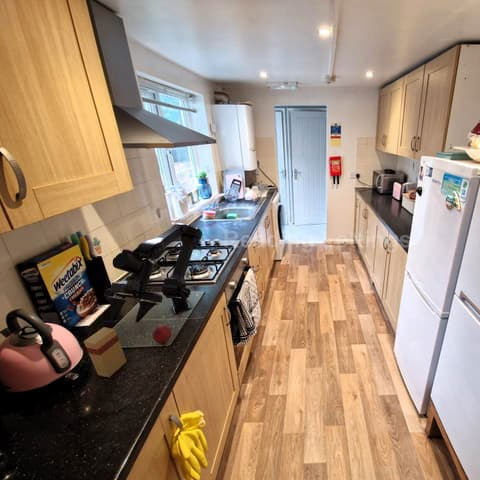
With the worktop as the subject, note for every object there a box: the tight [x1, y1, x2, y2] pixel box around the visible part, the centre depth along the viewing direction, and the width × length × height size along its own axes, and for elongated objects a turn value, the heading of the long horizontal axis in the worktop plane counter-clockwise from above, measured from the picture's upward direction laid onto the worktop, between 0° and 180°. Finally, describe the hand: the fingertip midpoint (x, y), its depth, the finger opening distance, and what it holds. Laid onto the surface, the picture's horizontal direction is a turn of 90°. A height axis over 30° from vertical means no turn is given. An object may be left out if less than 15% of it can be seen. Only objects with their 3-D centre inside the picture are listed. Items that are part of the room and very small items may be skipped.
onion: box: [152, 323, 172, 344], centre depth 97 cm, size 6×6×8 cm
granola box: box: [83, 326, 127, 378], centre depth 85 cm, size 4×7×14 cm
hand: (124, 320), depth 89 cm, fingers open, 9 cm apart
